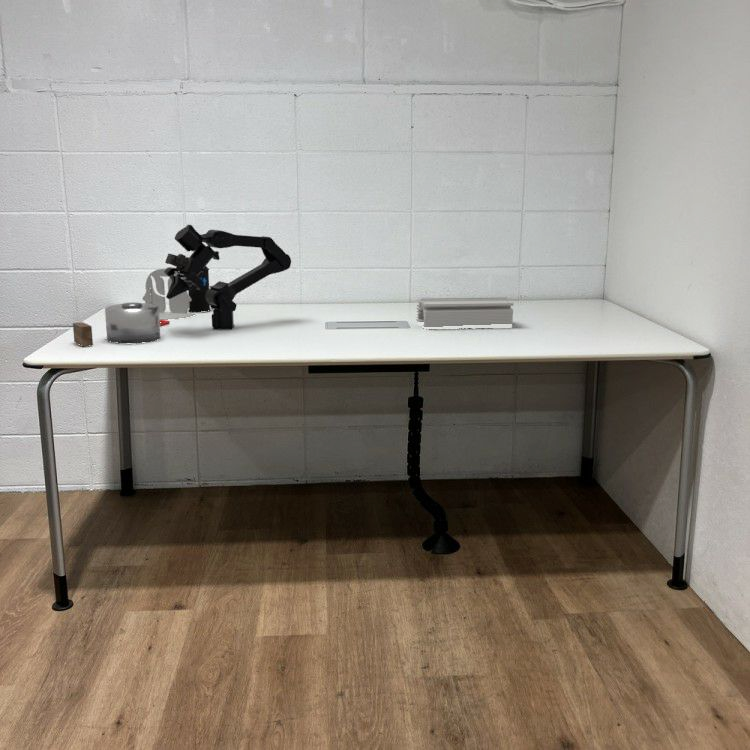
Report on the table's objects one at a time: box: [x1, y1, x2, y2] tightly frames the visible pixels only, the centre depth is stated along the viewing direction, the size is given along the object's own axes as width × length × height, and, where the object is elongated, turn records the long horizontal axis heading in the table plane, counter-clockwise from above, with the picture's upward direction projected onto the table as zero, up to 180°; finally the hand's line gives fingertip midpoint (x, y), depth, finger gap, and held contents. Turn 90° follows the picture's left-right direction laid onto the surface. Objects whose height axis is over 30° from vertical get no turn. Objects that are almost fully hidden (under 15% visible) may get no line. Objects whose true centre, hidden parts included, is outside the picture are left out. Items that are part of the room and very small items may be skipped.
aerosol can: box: [187, 265, 211, 313], centre depth 299 cm, size 8×8×20 cm
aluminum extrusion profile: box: [416, 296, 514, 327], centre depth 276 cm, size 14×31×10 cm, turn 99°
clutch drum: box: [104, 302, 161, 344], centre depth 248 cm, size 16×16×11 cm
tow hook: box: [149, 288, 170, 327], centre depth 273 cm, size 8×13×9 cm
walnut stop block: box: [72, 321, 94, 347], centre depth 240 cm, size 3×8×6 cm, turn 38°
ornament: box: [142, 268, 196, 321], centre depth 286 cm, size 22×13×17 cm, turn 81°
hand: (167, 298), depth 254 cm, fingers closed
